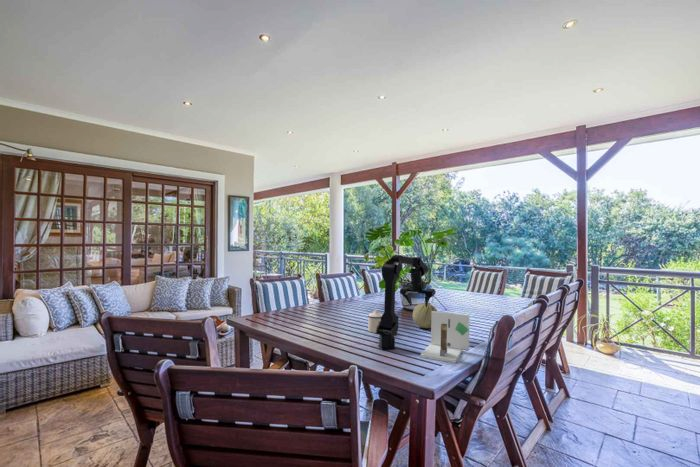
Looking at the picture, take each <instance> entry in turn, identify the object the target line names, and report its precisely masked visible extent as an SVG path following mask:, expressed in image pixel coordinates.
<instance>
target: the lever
mask: <svg viewBox="0 0 700 467" xmlns="http://www.w3.org/2000/svg"><path fill="white" fill-rule="evenodd" d="M441 350H445V353H446V351H447V324H443V323H442V324H441Z"/></svg>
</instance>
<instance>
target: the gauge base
mask: <svg viewBox="0 0 700 467" xmlns="http://www.w3.org/2000/svg"><path fill="white" fill-rule="evenodd" d="M442 323H443V324H447V351H446V353H445V350H441V324H442ZM430 330H431V331H430V343H429V345H428V346H427V347H426V348H425V349H424V350H423V351H422V352H421V353H420V358H422V359H423V358H424V359H429V360H436V361H441V362H447V363H452V364H456V363H457V361H458V360H459V359H460V356H461V354H462V353H463V350H466V351H470V314H462V313H452V312H444V311H443V312H442V311H437V312H436V311H431V328H430Z"/></svg>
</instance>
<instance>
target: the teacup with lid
mask: <svg viewBox="0 0 700 467" xmlns="http://www.w3.org/2000/svg"><path fill="white" fill-rule="evenodd" d="M382 315H383V313H380V312H379V311H378V309H375V310H374V311H373V312H371V313H369V314H368V315H367V317H368V319H367V324H368V325H367V331H368V332H369V333H371V334H377V332H376V330H377V327H378V325H379V323H380V321H381V317H382Z"/></svg>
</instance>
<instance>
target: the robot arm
mask: <svg viewBox="0 0 700 467" xmlns="http://www.w3.org/2000/svg"><path fill="white" fill-rule="evenodd" d="M403 264H404V265H406V267H409V268H410V270H409V271H408V274H410V285H411V287H410V286H403V287H401V288H400V290H399V294H400V295H402V296H403V297H404V298H405V299H406V301H407V303H408V304H409V306H412V305H413V304H412V294H413V293H414V294H424V303H425V305H426V307H427V306H428V303H429V302H430V299H431V298H433V297H434V296H435V295H436V294H437V293H436V289H435V288H429V287H428V288H427V282H425V281H424V280H423V279H422V277H424V276H426V275H427V274H428V273H429V271H430V269H429V267H428V266H427V265H426V263H425V262H424V260H423V259H422V257H421V256H420V257H419V256H406V255H405V256H404V255H402V254H393V255H392V256H391V257H390V258H389V259H387V260H386V261H385V262H384V264H383V265H382V267H381V278H382V279H383V281H384V282H385V283H384V284H385V285H384V310H383V311H384V312H383V313H382V314H383V315H382V317H381V321H380V323H379V325H378V327H377V330H376V332H377V333H376V334H377V335H379V344H378V345H377V346H378V347H379V348H380V349H381V350H382V351H384V350H395V349H396V347H395V345H396V341H395V340H396V338H395V337H396V336H397V334H398V332H399V331H398V330H399V315H396V312H395V308H396V307H395V306H396V304H395V303H396V283H397V281H398V279H399V277H400V273H401V271H402V269H403ZM425 289H426V290H425Z"/></svg>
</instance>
